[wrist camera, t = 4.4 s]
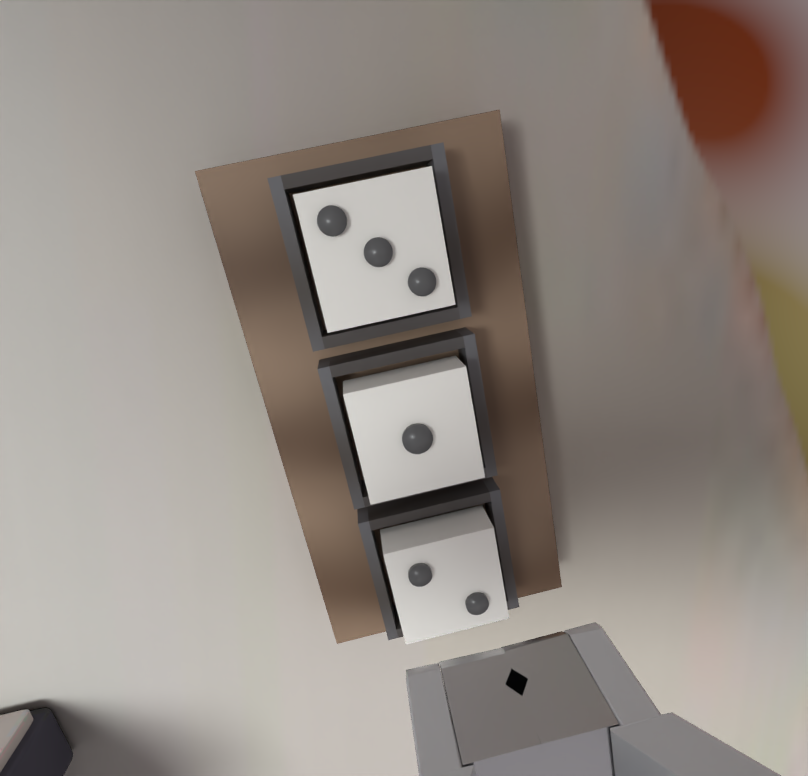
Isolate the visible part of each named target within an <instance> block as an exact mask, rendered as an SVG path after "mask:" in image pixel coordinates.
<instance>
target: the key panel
mask: <svg viewBox="0 0 808 776" xmlns="http://www.w3.org/2000/svg"><path fill="white" fill-rule="evenodd" d="M429 166H432V170H433V176H434V182H435V188H436V194H437V199H438V205H439V211H440V217H441V223H442V229H443V234H444V240H445V246H446V252H447V258H448V264H449V269H450V275H451V281H452V287H453V293H454V299H455V304H456V305H452V306H447V307H443V308H438V309H434V310H429V311H425V312H420V313H416V314H411V315H407V316H402V317H398V318H393V319H388V320H384V321H379V322H375V323H370V324H366V325H361V326H357V327H352V328H348V329H343V330H339V331H334V332H330V333H327V329H326V325H325V321H324V317H323V313H322V309H321V305H320V301H319V297H318V293H317V289H316V285H315V281H314V277H313V273H312V269H311V265H310V261H309V257H308V253H307V249H306V245H305V241H304V237H303V233H302V229H301V225H300V221H299V217H298V213H297V209H296V205H295V201H294V197H293V195H294V194H299V193H303V192H308V191H313V190H318V189H323V188H328V187H332V186H337V185H342V184H347V183H352V182H357V181H362V180H366V179H371V178H376V177H381V176H386V175H391V174H395V173H400V172H405V171H410V170H415V169H420V168H425V167H429ZM195 173H196V177H197V180H198V183H199V187H200V190H201V193H202V197H203V200H204V203H205V207H206V210H207V213H208V217H209V220H210V223H211V227H212V230H213V233H214V237H215V240H216V243H217V247H218V250H219V253H220V257H221V260H222V263H223V266H224V270H225V273H226V276H227V280H228V283H229V286H230V290H231V293H232V296H233V300H234V303H235V306H236V310H237V313H238V316H239V320H240V323H241V326H242V330H243V333H244V336H245V340H246V343H247V346H248V350H249V353H250V356H251V360H252V363H253V366H254V369H255V373H256V376H257V379H258V383H259V386H260V389H261V393H262V396H263V399H264V403H265V406H266V409H267V413H268V416H269V419H270V423H271V426H272V429H273V433H274V436H275V439H276V443H277V446H278V449H279V453H280V456H281V459H282V463H283V466H284V469H285V472H286V476H287V479H288V482H289V486H290V489H291V492H292V496H293V499H294V502H295V506H296V509H297V512H298V516H299V519H300V522H301V526H302V529H303V532H304V536H305V539H306V542H307V546H308V549H309V552H310V556H311V559H312V562H313V566H314V569H315V572H316V575H317V579H318V582H319V585H320V589H321V592H322V595H323V599H324V602H325V605H326V609H327V612H328V615H329V619H330V622H331V625H332V629H333V632H334V635H335V639H336V642H337V644H338V643H342V642H346V641H350V640H354V639H358V638H361V637H365V636H369V635H373V634H377V633H381V632H385V631H386V632H387V636H388V640H391V639H395V638H399V637H403V632H402V628H401V624H400V620H399V616H398V612H397V608H396V604H395V600H394V596H393V592H392V588H391V584H390V580H389V576H388V572H387V568H386V564H385V560H384V556H383V550H382V542H381V534H380V530H381V529H385V528H389V527H393V526H397V525H402V524H406V523H410V522H414V521H418V520H422V519H426V518H430V517H435V516H439V515H443V514H447V513H451V512H455V511H459V510H463V509H468V508H472V507H476V506H480V505H482V506H483V508H484V510H485V512H486V514H487V516H488V518H489V519H490V521H491V523H492V525H493V527H494V532H495V538H496V544H497V550H498V556H499V561H500V567H501V573H502V579H503V585H504V591H505V596H506V602H507V608H508V610H509V609H513V608H517V607H519V603H518V598H520V597H524V596H528V595H531V594H535V593H539V592H543V591H547V590H551V589H555V588H559V587H562V585H561V577H560V570H559V562H558V554H557V547H556V539H555V531H554V524H553V516H552V508H551V501H550V493H549V485H548V478H547V470H546V462H545V455H544V447H543V439H542V432H541V424H540V416H539V409H538V401H537V393H536V386H535V378H534V370H533V363H532V355H531V347H530V340H529V332H528V324H527V317H526V309H525V301H524V294H523V286H522V278H521V271H520V263H519V255H518V248H517V240H516V232H515V225H514V217H513V209H512V202H511V194H510V186H509V179H508V171H507V163H506V156H505V148H504V140H503V133H502V125H501V117H500V110H496V111H491V112H486V113H481V114H476V115H471V116H466V117H461V118H456V119H451V120H446V121H441V122H436V123H431V124H426V125H421V126H416V127H411V128H406V129H401V130H397V131H392V132H387V133H382V134H377V135H372V136H367V137H362V138H357V139H352V140H347V141H342V142H337V143H332V144H327V145H322V146H317V147H312V148H307V149H302V150H297V151H293V152H288V153H283V154H278V155H273V156H268V157H263V158H258V159H253V160H248V161H243V162H238V163H233V164H228V165H223V166H218V167H213V168H208V169H203V170H198V171H195ZM451 356H456V357H457V358H458V359H459V360H460V361H461V362H462V363H463V364H464V365H465V366H466V369H467V375H468V380H469V386H470V392H471V398H472V404H473V410H474V415H475V421H476V427H477V433H478V439H479V445H480V450H481V456H482V462H483V468H484V474H485V478H481V479H477V480H472V481H468V482H464V483H460V484H456V485H452V486H447V487H443V488H439V489H435V490H431V491H426V492H422V493H418V494H414V495H410V496H406V497H401V498H397V499H393V500H389V501H385V502H381V503H376V504H372V505H371V504H370V500H369V496H368V492H367V488H366V484H365V480H364V476H363V472H362V468H361V464H360V460H359V456H358V452H357V449H356V445H355V441H354V437H353V433H352V429H351V425H350V421H349V417H348V413H347V409H346V405H345V401H344V397H343V381H345V380H350V379H354V378H359V377H363V376H367V375H372V374H376V373H381V372H385V371H390V370H394V369H398V368H403V367H407V366H412V365H416V364H420V363H425V362H429V361H434V360H438V359H443V358H447V357H451Z"/></svg>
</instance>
